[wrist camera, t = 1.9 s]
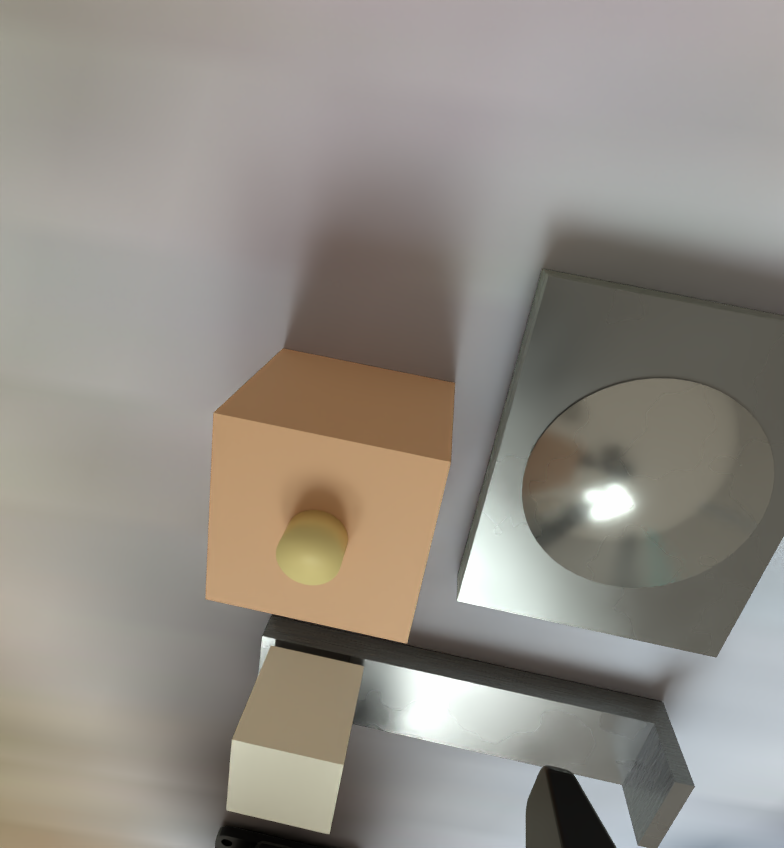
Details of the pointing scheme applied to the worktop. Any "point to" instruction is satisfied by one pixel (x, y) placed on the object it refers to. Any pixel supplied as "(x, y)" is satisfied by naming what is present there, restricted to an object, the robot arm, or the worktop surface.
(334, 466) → the block
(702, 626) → the plate
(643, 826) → the ram rail
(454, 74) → the worktop surface
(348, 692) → the block
